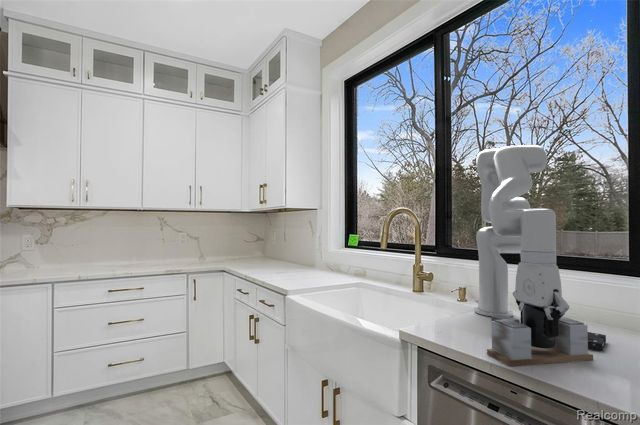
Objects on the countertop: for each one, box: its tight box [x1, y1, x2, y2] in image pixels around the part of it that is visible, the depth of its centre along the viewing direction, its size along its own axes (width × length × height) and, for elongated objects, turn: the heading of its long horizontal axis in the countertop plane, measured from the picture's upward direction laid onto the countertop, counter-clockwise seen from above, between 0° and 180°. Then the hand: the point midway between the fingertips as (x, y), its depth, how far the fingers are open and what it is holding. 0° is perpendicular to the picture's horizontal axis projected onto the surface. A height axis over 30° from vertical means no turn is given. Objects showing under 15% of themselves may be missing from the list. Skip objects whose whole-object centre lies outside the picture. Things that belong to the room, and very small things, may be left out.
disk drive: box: [588, 331, 607, 352], centre depth 100 cm, size 10×3×15 cm
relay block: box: [491, 315, 520, 323], centre depth 105 cm, size 6×4×5 cm, turn 32°
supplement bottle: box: [523, 304, 555, 349], centre depth 87 cm, size 7×7×12 cm
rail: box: [486, 316, 594, 367], centre depth 87 cm, size 8×23×9 cm, turn 102°
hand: (538, 330), depth 87 cm, fingers closed on supplement bottle, 6 cm apart
